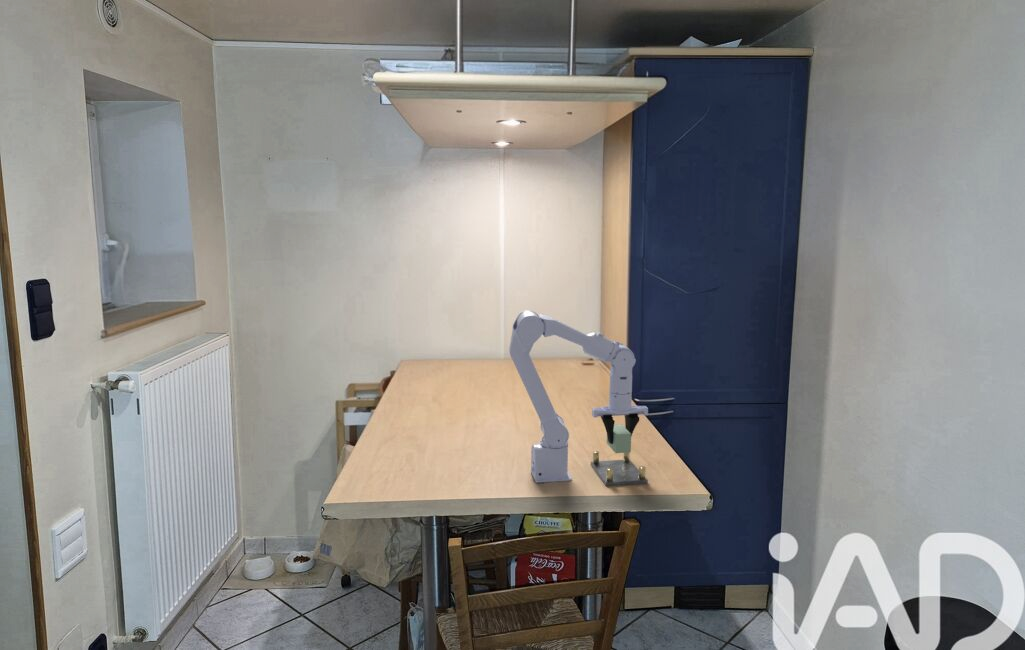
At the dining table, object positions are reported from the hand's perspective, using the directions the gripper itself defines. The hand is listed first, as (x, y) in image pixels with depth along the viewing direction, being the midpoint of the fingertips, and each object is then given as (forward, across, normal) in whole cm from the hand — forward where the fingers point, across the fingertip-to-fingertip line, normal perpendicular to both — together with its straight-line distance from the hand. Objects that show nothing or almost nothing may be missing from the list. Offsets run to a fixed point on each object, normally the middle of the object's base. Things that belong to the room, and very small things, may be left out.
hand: (619, 442), depth 182 cm
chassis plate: (+9, 0, 0) cm, 9 cm away
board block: (+2, 0, 0) cm, 2 cm away
